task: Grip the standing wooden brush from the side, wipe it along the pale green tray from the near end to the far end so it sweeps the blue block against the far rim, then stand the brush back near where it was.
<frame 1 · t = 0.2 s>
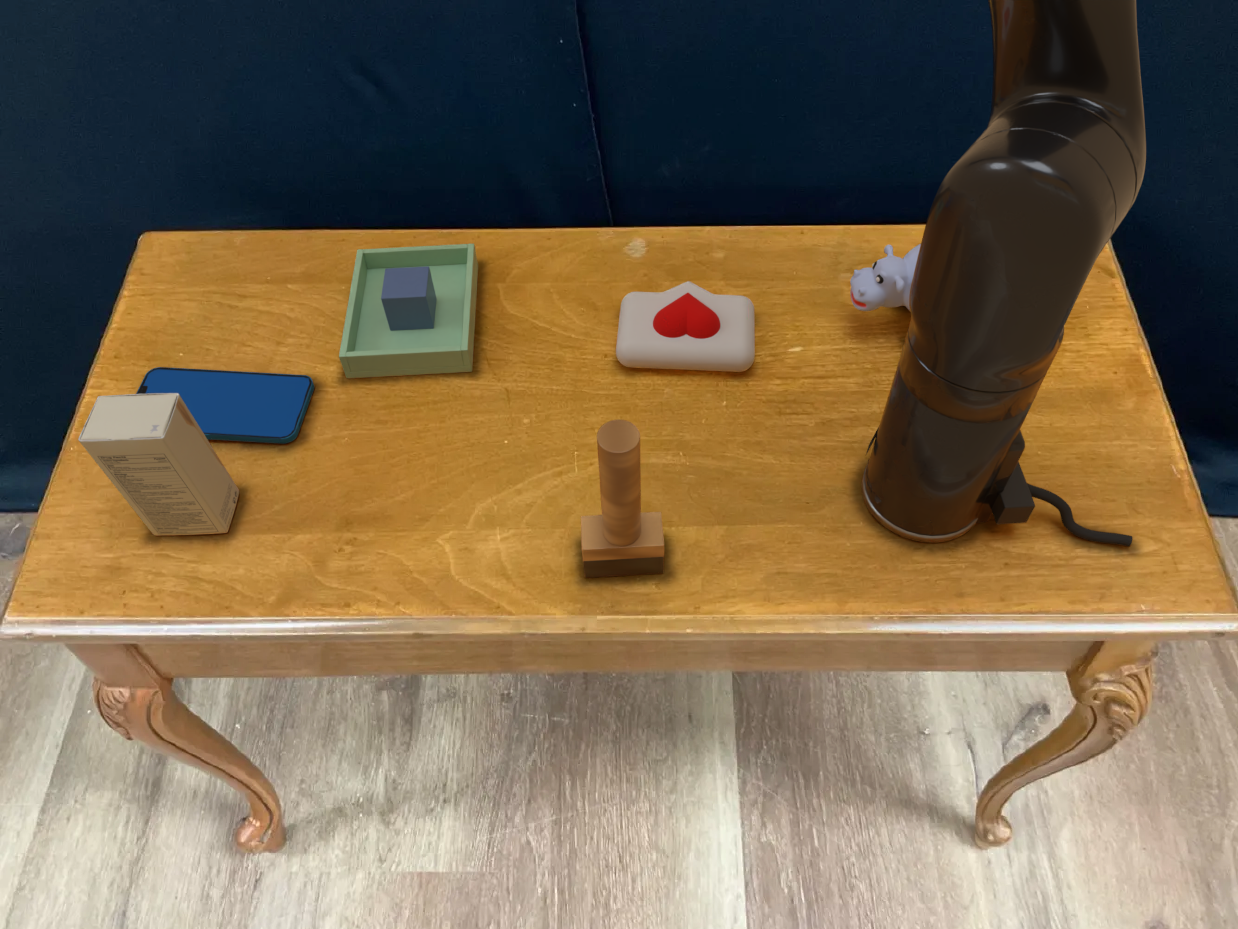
smartphone: (223, 409, 84), on the table
tray: (415, 319, 91), on the table
icon: (685, 337, 89), on the table
hippopotamus toy: (924, 324, 89), on the table
block: (413, 314, 90), point 1 cm above the table, touching tray
cosmetic box: (196, 514, 78), on the table
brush: (623, 559, 74), on the table
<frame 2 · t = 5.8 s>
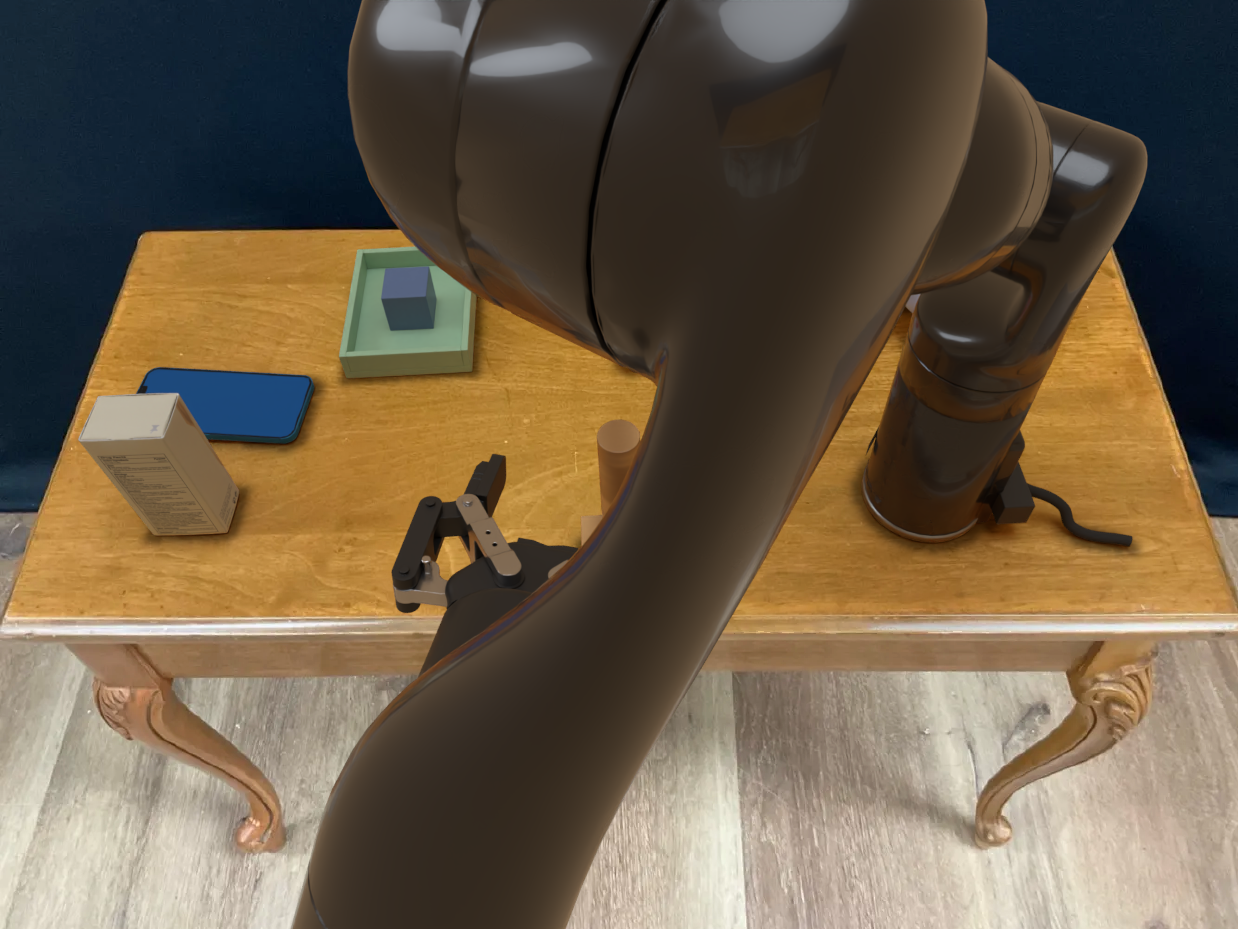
hand: (573, 478, 54), 20 cm above the table, tool horizontal, fingers open, 8 cm apart
nothing on the table moved.
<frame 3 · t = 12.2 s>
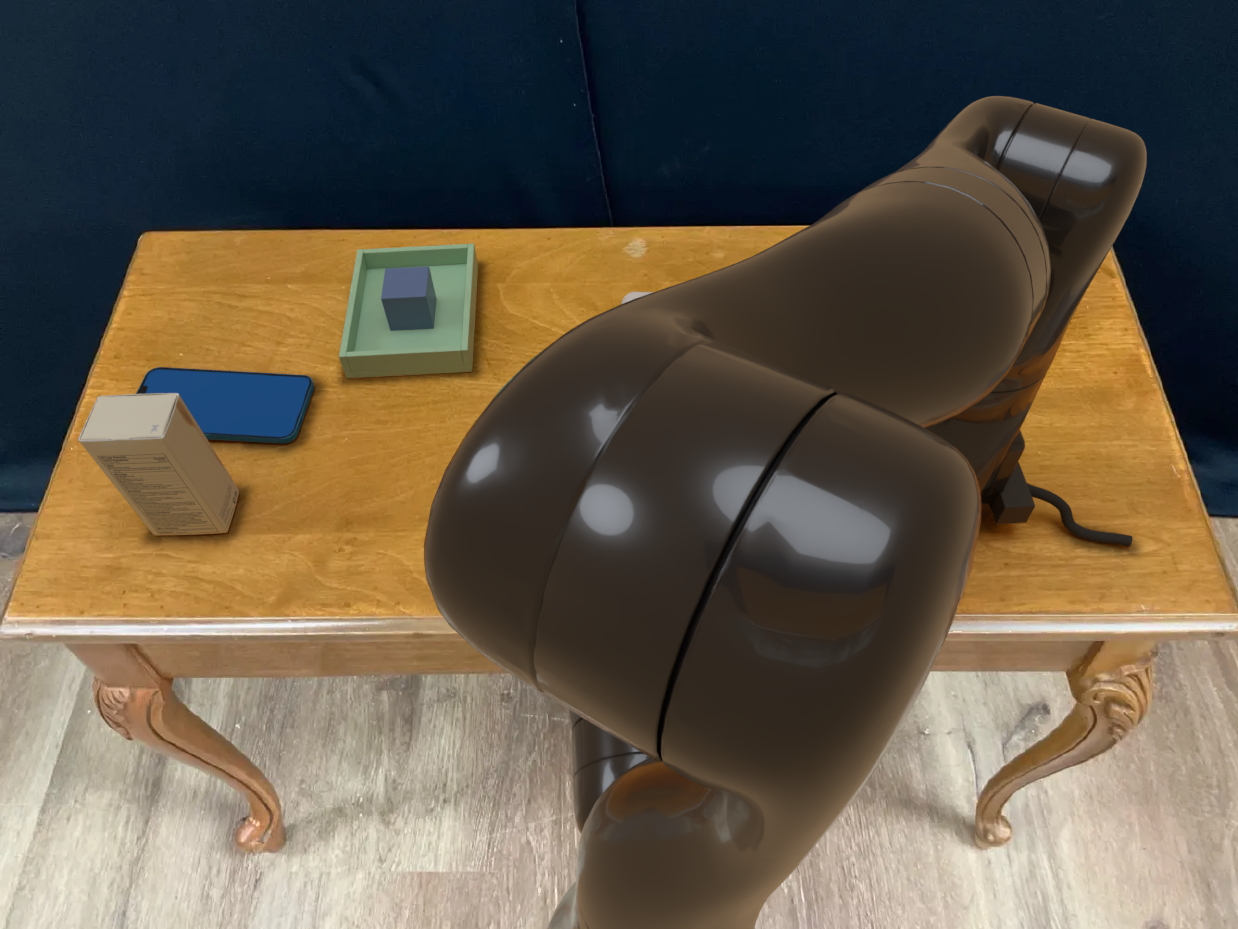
hand: (616, 421, 66), 13 cm above the table, tool horizontal, fingers closed on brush, 3 cm apart
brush: (623, 559, 74), on the table, touching gripper
everything else where it was.
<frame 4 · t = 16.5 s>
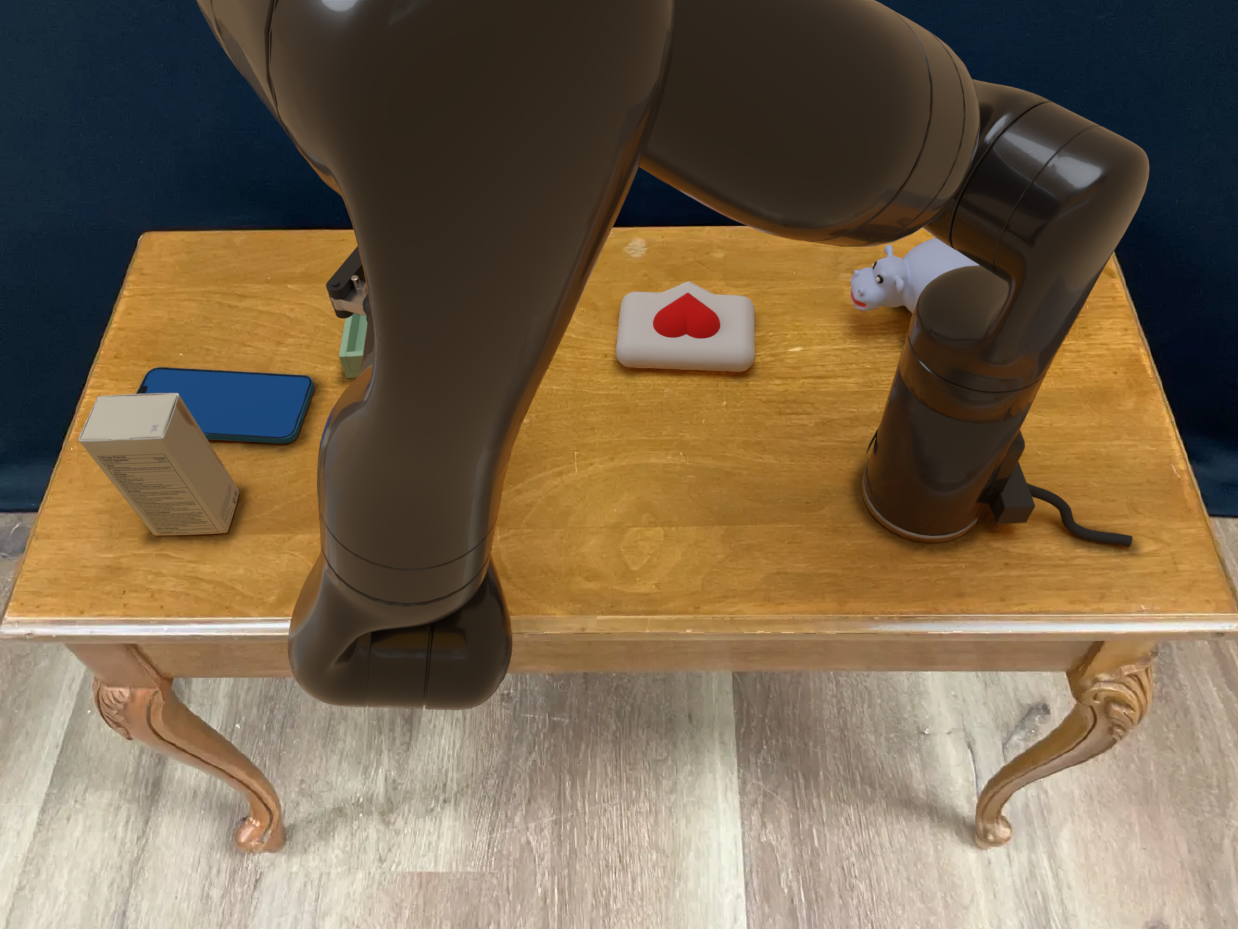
hand: (441, 202, 68), 21 cm above the table, tool horizontal, fingers closed on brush, 3 cm apart
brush: (467, 361, 76), point 8 cm above the table, touching gripper
everything else where it was.
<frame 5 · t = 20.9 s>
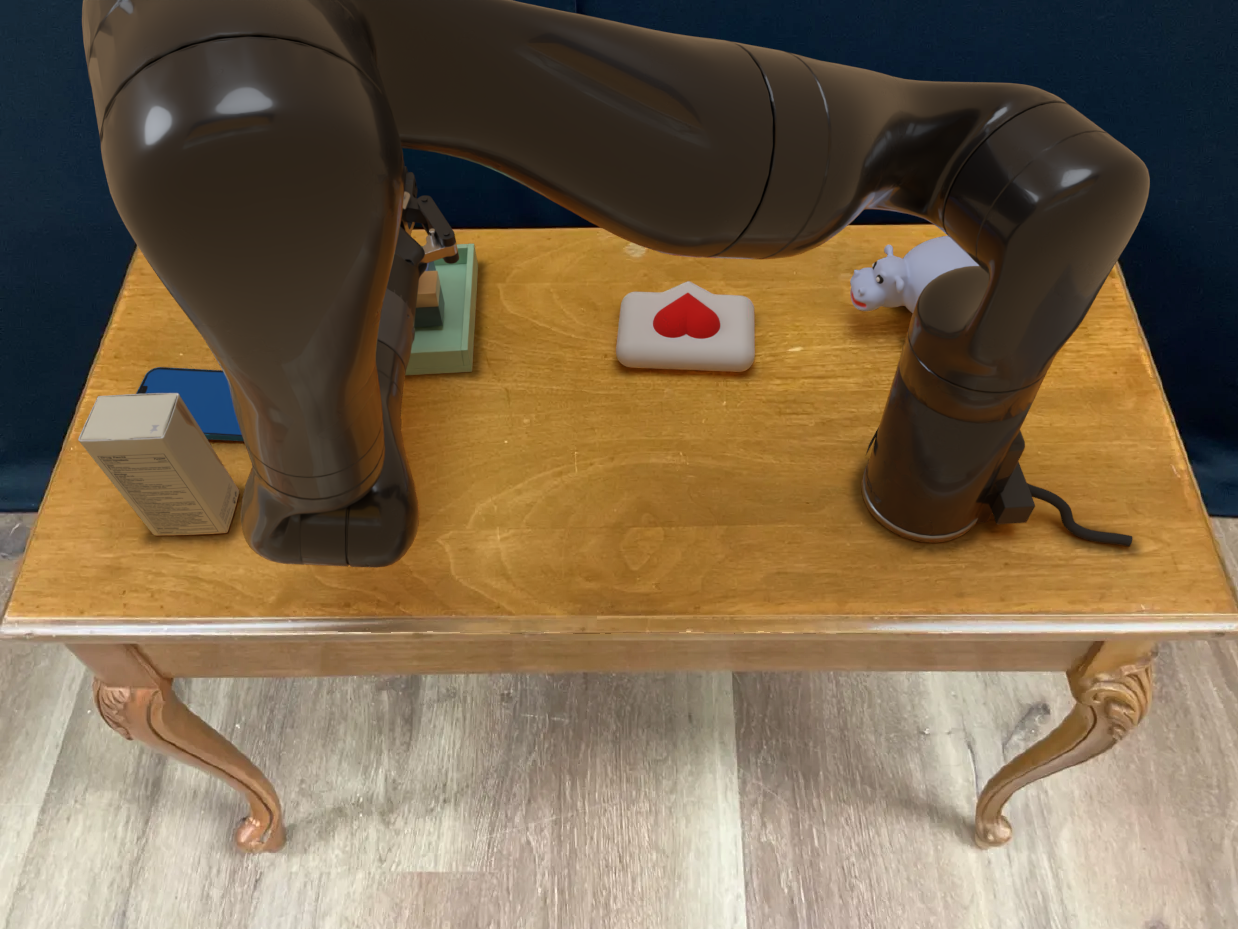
hand: (383, 177, 80), 14 cm above the table, tool horizontal, fingers closed on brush, 3 cm apart
block: (415, 294, 91), point 1 cm above the table, touching tray
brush: (411, 316, 89), point 1 cm above the table, touching gripper
everything else where it was.
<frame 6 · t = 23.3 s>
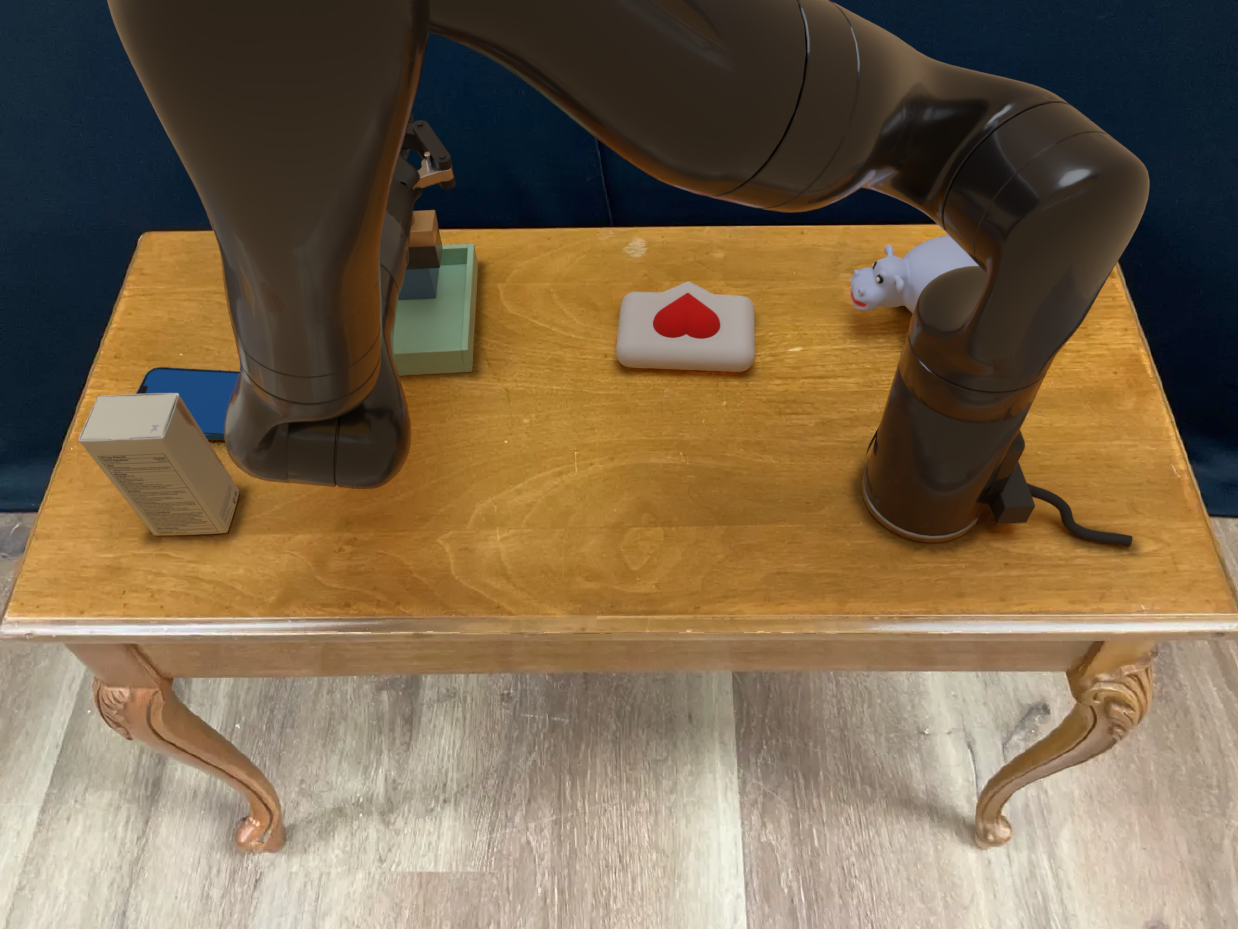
hand: (378, 104, 78), 19 cm above the table, tool horizontal, fingers closed on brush, 3 cm apart
block: (416, 285, 92), point 1 cm above the table, touching tray
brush: (407, 259, 86), point 6 cm above the table, touching gripper
everything else where it was.
when the fingers open (13 cm above the table, at t = 30.7 s): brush stays where it is, on the table.
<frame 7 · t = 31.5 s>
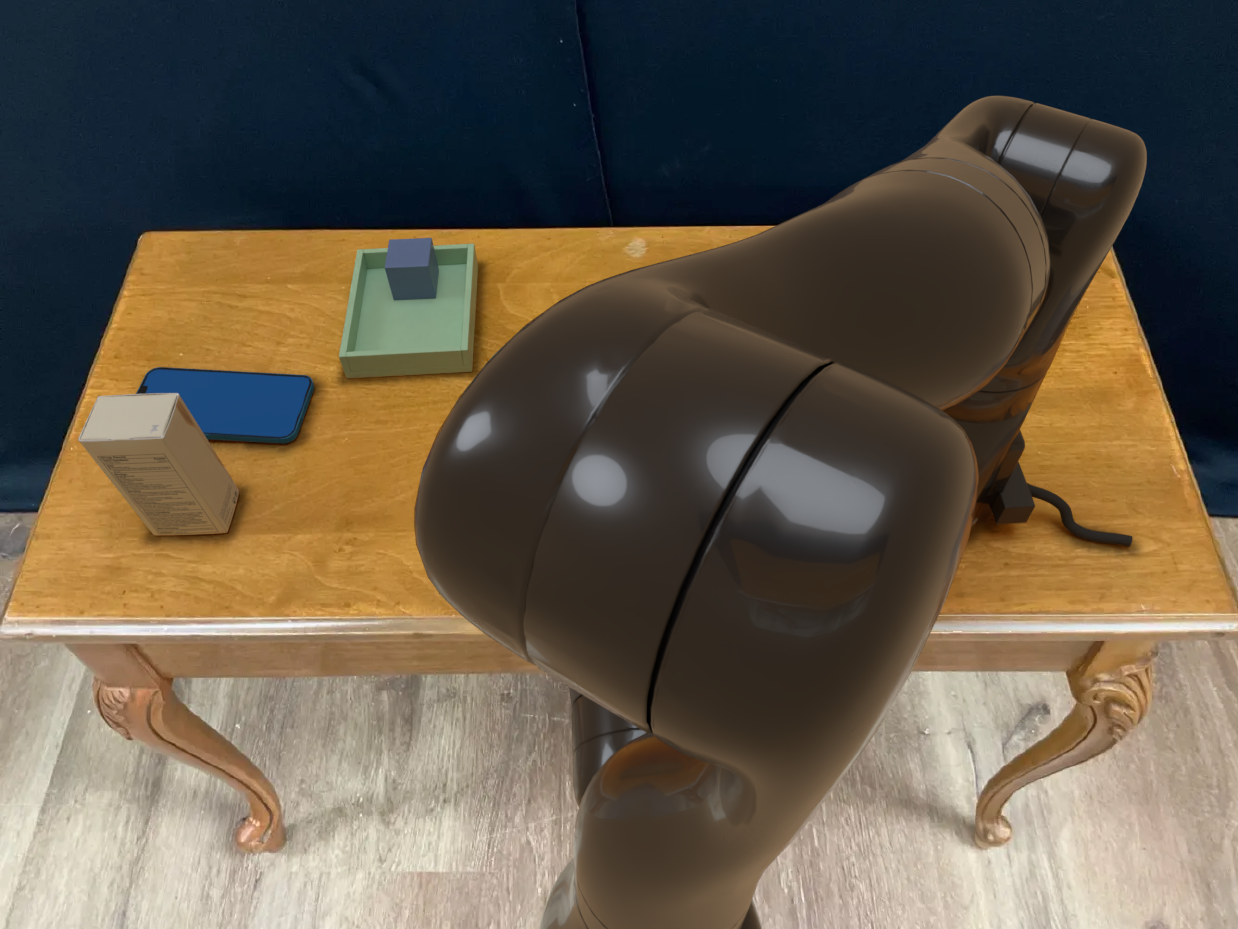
hand: (617, 415, 65), 14 cm above the table, tool horizontal, fingers open, 8 cm apart
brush: (622, 556, 74), on the table
everything else where it was.
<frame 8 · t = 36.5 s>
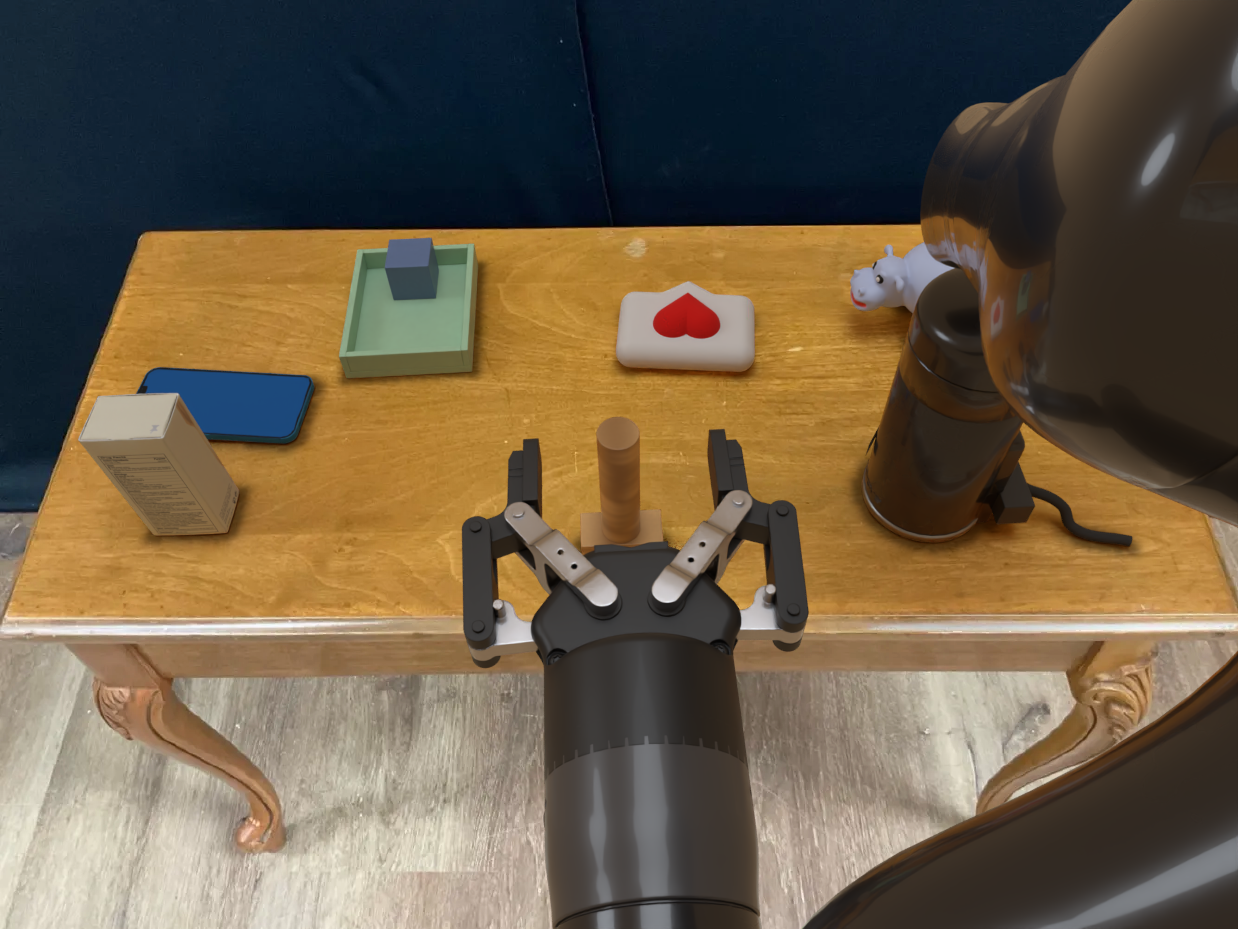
hand: (623, 444, 45), 28 cm above the table, tool horizontal, fingers open, 8 cm apart
nothing on the table moved.
at the end: block 0.7 cm from the target spot in the tray, point 0.8 cm above the tray's base; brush inside the target area (0.3 cm from its centre), on the table; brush tilted 0° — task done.
